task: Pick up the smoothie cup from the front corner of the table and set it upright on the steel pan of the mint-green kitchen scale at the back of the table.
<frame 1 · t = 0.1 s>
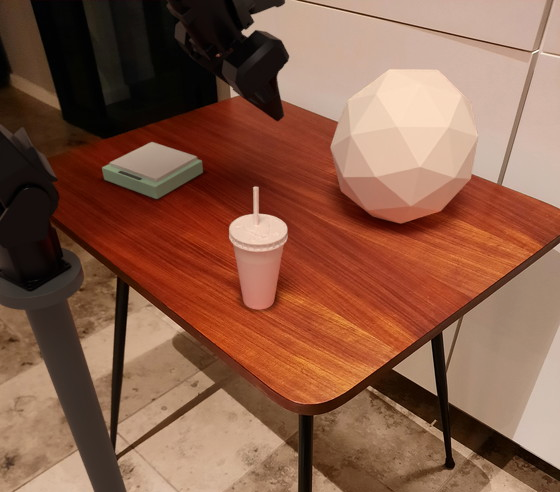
hand: (263, 105, 69), 16 cm above the table, tool tilted 35°, fingers open, 9 cm apart
smoothie: (258, 301, 67), on the table
ball: (392, 212, 83), on the table
scale: (154, 176, 89), on the table
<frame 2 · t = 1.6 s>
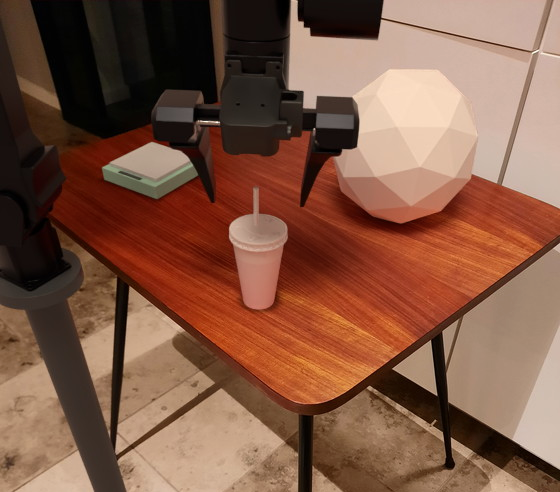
hand: (257, 203, 58), 12 cm above the table, tool pointing down, fingers open, 9 cm apart
nothing on the table moved.
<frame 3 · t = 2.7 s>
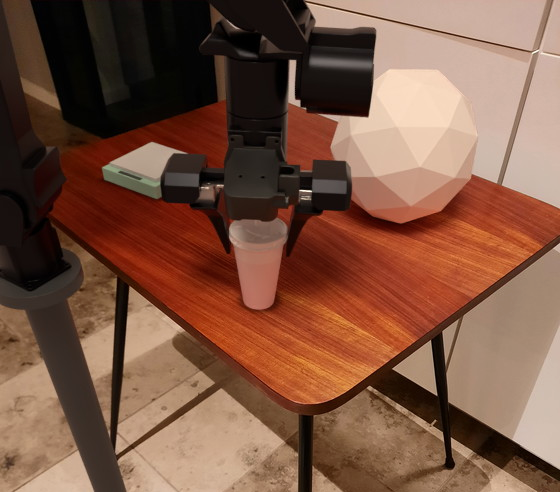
hand: (258, 253, 62), 6 cm above the table, tool pointing down, fingers closed on smoothie, 6 cm apart
smoothie: (258, 301, 67), on the table, touching gripper
everything else where it was.
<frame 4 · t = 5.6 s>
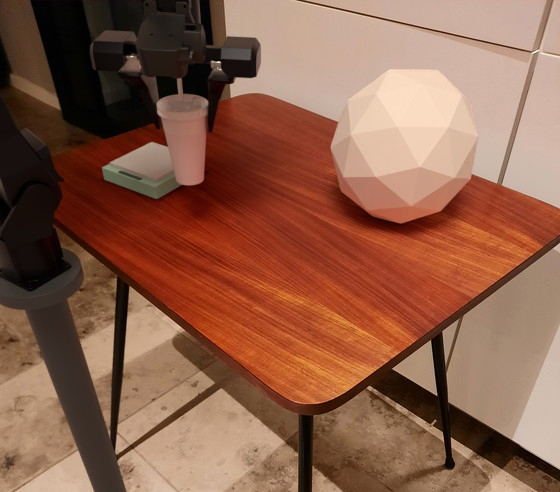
hand: (184, 130, 70), 13 cm above the table, tool pointing down, fingers closed on smoothie, 6 cm apart
smoothie: (190, 180, 75), point 6 cm above the table, touching gripper
everything else where it was.
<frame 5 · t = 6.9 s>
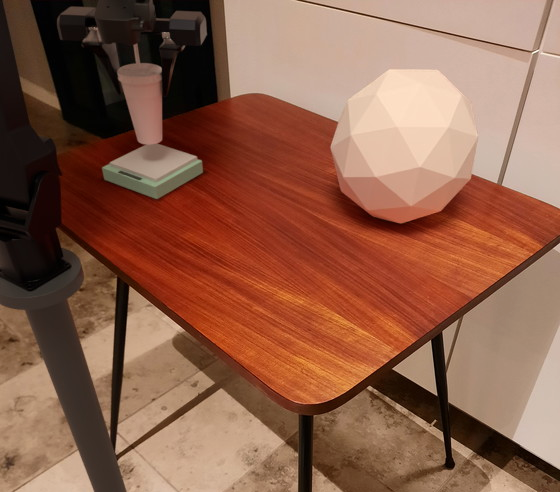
hand: (143, 94, 80), 12 cm above the table, tool pointing down, fingers closed on smoothie, 6 cm apart
smoothie: (150, 140, 85), point 6 cm above the table, touching gripper
everything else where it was.
when the fingers open (9 cm above the table, at t = 8.3 s): smoothie stays where it is, resting on scale.
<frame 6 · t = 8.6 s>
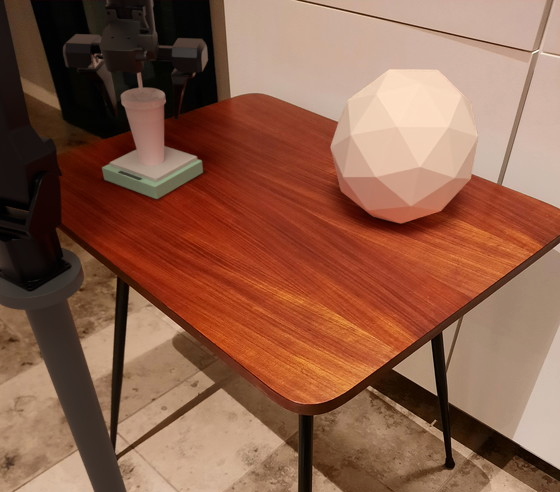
hand: (146, 117, 83), 9 cm above the table, tool pointing down, fingers open, 9 cm apart
smoothie: (152, 161, 87), point 2 cm above the table, touching scale
everything else where it was.
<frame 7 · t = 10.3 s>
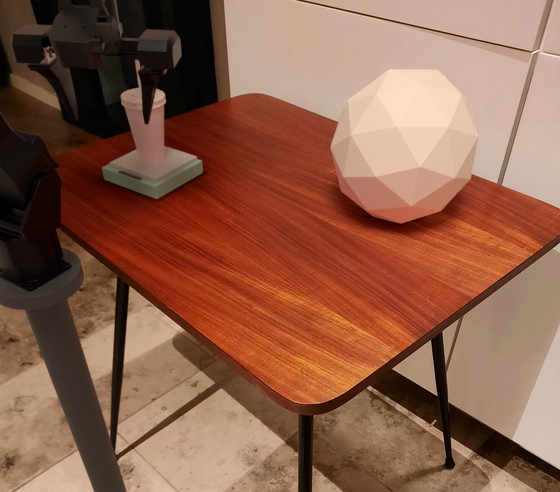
hand: (111, 121, 72), 13 cm above the table, tool pointing down, fingers open, 9 cm apart
nothing on the table moved.
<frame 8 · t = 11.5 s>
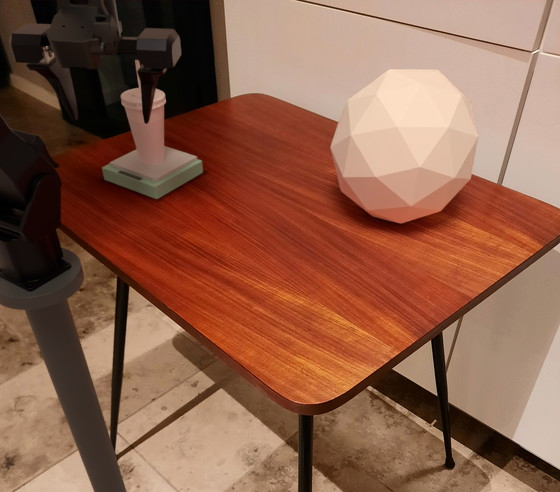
hand: (111, 121, 71), 13 cm above the table, tool pointing down, fingers open, 9 cm apart
nothing on the table moved.
at the end: smoothie inside the target area on the scale (0.4 cm from its centre), point 2.4 cm above the scale's base; smoothie tilted 0°; the gripper is holding nothing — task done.
